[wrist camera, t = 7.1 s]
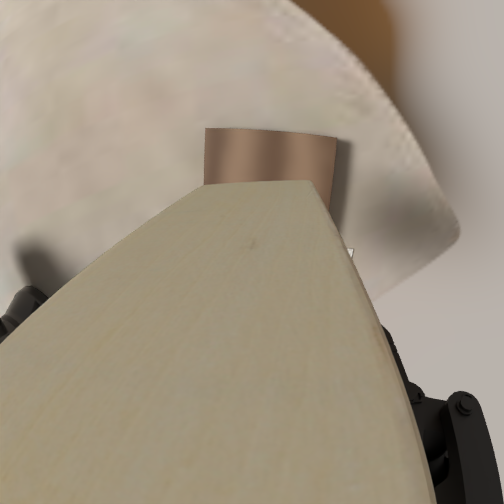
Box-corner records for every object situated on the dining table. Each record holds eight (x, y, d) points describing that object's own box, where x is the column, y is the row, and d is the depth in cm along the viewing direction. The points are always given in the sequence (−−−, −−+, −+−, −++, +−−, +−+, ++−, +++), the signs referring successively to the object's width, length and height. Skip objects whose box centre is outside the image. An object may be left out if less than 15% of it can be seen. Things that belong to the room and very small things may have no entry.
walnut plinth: (209, 239, 37) (203, 248, 34) (211, 128, 31) (205, 128, 29) (318, 249, 36) (321, 258, 33) (332, 137, 30) (337, 137, 28)
